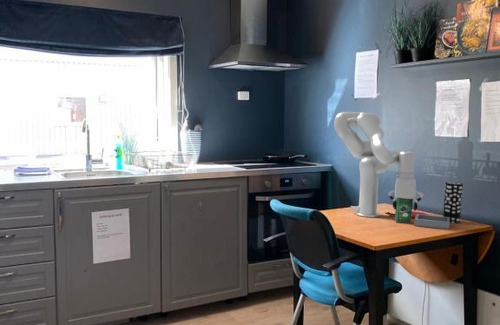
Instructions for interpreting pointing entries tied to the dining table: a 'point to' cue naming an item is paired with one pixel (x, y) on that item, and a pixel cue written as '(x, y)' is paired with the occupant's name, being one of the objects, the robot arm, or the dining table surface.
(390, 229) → the dining table surface
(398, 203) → the coffee box
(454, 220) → the white-spotted black cylinder
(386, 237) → the dining table surface
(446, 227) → the tray
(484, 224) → the dining table surface
